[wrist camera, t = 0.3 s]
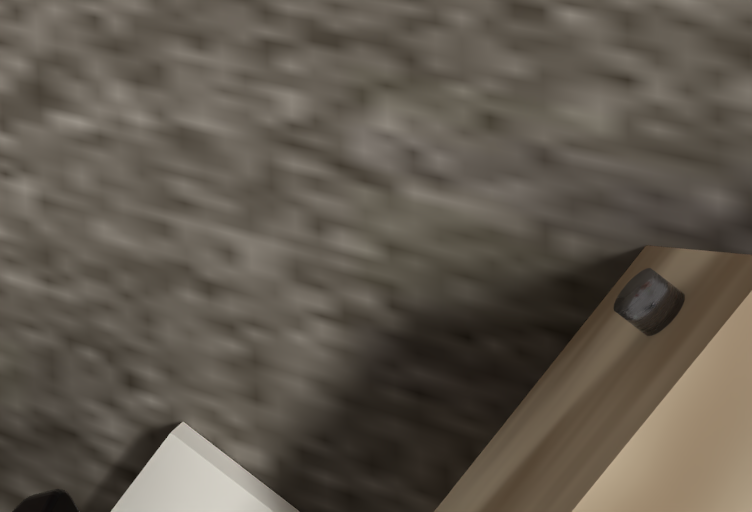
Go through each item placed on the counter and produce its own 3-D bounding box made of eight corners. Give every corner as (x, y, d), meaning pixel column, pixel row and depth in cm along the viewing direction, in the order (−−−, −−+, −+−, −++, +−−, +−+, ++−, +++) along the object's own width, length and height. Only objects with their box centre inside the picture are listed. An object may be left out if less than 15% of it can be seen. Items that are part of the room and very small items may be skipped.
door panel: (719, 301, 22) (894, 344, 14) (490, 583, 23) (534, 773, 15) (621, 226, 22) (740, 228, 14) (395, 510, 23) (390, 661, 15)
